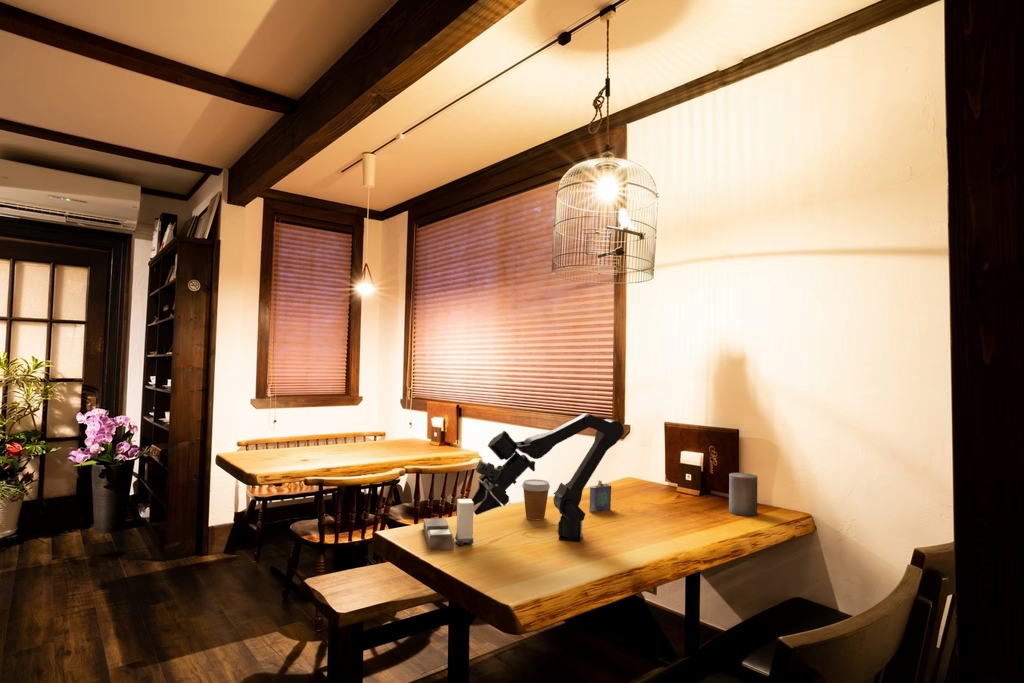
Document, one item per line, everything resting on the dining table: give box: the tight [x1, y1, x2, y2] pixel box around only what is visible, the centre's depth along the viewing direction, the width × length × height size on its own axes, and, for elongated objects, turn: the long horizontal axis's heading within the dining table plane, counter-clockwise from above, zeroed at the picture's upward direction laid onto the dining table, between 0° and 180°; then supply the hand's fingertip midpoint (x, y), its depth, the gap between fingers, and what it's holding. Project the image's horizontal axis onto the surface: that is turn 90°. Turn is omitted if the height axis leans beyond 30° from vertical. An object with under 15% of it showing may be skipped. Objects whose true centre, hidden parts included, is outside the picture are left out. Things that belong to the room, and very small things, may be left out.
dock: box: [423, 517, 455, 552], centre depth 169 cm, size 7×21×4 cm, turn 13°
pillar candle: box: [728, 471, 758, 517], centre depth 208 cm, size 10×10×15 cm
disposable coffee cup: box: [521, 478, 551, 520], centre depth 194 cm, size 10×10×12 cm
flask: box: [588, 480, 612, 514], centre depth 205 cm, size 9×3×11 cm, turn 121°
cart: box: [454, 498, 475, 546], centre depth 165 cm, size 5×6×12 cm
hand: (472, 509), depth 166 cm, fingers open, 9 cm apart
